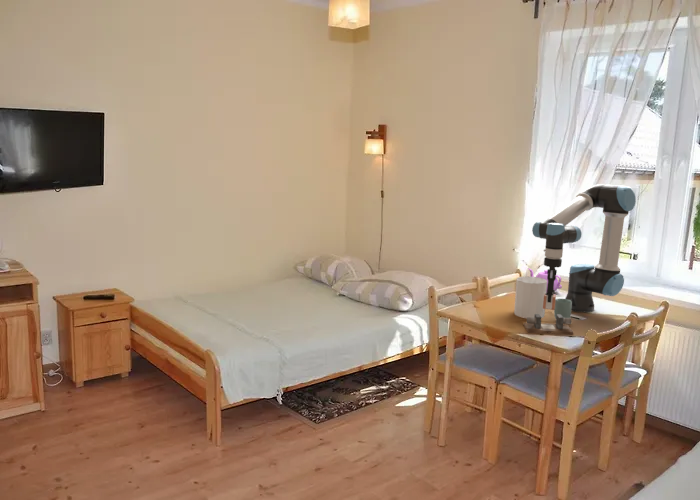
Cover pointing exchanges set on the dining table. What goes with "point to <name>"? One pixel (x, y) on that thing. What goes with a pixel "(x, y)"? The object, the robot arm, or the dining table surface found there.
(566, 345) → the dining table surface
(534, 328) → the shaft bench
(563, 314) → the cup
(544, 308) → the joint block
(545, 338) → the dining table surface
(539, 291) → the container
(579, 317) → the dining table surface
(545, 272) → the teapot
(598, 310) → the dining table surface
